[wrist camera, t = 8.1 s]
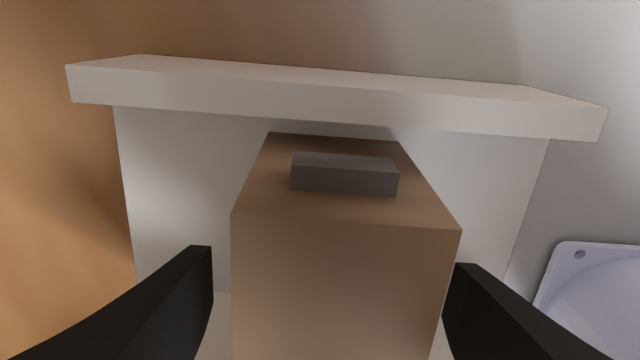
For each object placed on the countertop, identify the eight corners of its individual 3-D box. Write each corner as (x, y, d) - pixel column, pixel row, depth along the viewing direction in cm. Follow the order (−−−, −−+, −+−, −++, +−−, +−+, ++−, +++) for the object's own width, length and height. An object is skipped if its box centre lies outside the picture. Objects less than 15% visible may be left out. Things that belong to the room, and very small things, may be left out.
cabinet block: (401, 124, 12) (470, 202, 7) (374, 281, 15) (409, 431, 9) (269, 114, 12) (229, 185, 7) (265, 274, 15) (233, 423, 9)
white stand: (525, 85, 14) (697, 132, 8) (463, 296, 18) (543, 441, 12) (141, 53, 14) (-16, 75, 7) (164, 278, 18) (78, 420, 11)
